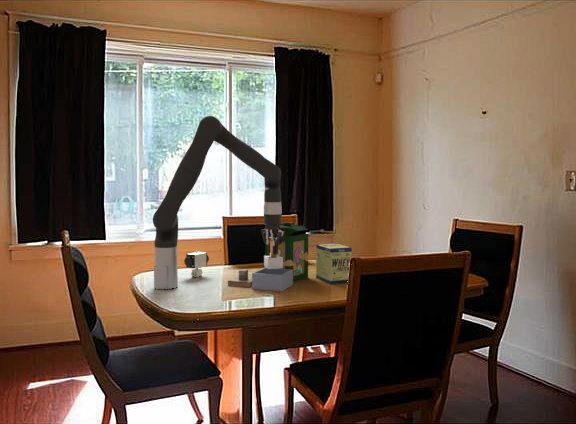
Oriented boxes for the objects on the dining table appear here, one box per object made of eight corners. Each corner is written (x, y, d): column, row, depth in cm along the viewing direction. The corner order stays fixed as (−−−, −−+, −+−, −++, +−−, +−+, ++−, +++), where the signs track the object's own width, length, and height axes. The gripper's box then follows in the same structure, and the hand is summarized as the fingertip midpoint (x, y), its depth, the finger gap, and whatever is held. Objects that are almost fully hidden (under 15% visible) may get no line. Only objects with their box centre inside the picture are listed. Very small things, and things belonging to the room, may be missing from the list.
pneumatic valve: (209, 275, 262) (209, 249, 261) (191, 279, 252) (191, 252, 252) (200, 274, 265) (200, 248, 264) (182, 278, 256) (182, 251, 255)
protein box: (330, 284, 243) (330, 248, 242) (315, 277, 257) (315, 244, 256) (352, 282, 247) (352, 247, 245) (335, 276, 261) (336, 243, 260)
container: (292, 283, 244) (292, 226, 242) (260, 278, 255) (260, 223, 253) (311, 278, 256) (311, 223, 254) (280, 273, 267) (280, 221, 265)
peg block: (282, 268, 235) (282, 240, 234) (268, 269, 233) (267, 241, 232) (278, 265, 241) (278, 238, 240) (264, 266, 239) (263, 239, 238)
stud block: (249, 287, 237) (249, 272, 236) (227, 285, 240) (227, 271, 240) (258, 282, 246) (258, 268, 245) (237, 280, 249) (237, 267, 249)
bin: (281, 291, 229) (281, 275, 228) (252, 288, 233) (252, 273, 233) (292, 284, 241) (292, 269, 241) (264, 282, 246) (264, 267, 245)
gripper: (290, 213, 232) (290, 255, 233) (269, 211, 243) (269, 251, 244) (276, 214, 227) (276, 257, 228) (255, 212, 238) (255, 253, 239)
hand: (272, 253), depth 236 cm, fingers closed on peg block, 2 cm apart
